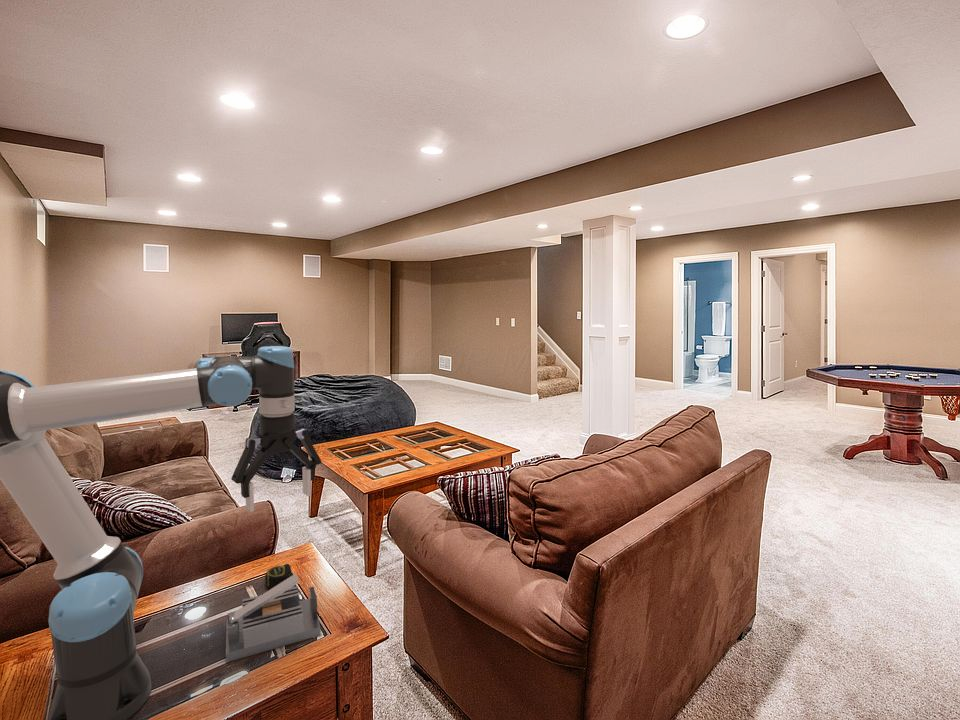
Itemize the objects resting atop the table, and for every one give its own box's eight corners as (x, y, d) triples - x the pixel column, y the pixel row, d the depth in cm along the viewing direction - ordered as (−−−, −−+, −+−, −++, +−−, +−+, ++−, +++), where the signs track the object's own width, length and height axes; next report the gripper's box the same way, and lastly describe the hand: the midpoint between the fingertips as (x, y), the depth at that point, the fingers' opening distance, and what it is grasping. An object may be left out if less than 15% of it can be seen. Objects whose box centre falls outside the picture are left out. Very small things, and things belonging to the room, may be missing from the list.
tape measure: (295, 587, 130) (294, 573, 130) (266, 594, 127) (266, 580, 127) (291, 574, 136) (290, 561, 136) (264, 580, 133) (263, 567, 133)
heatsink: (226, 662, 103) (223, 631, 102) (227, 627, 114) (225, 599, 113) (320, 635, 112) (319, 606, 111) (313, 605, 122) (312, 578, 121)
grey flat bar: (231, 627, 107) (227, 623, 107) (231, 619, 110) (227, 615, 110) (299, 583, 113) (296, 578, 112) (298, 576, 115) (295, 572, 115)
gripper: (226, 425, 103) (229, 523, 105) (334, 408, 121) (335, 492, 123) (213, 418, 108) (217, 511, 110) (319, 403, 126) (320, 484, 128)
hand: (279, 501), depth 117 cm, fingers open, 13 cm apart
